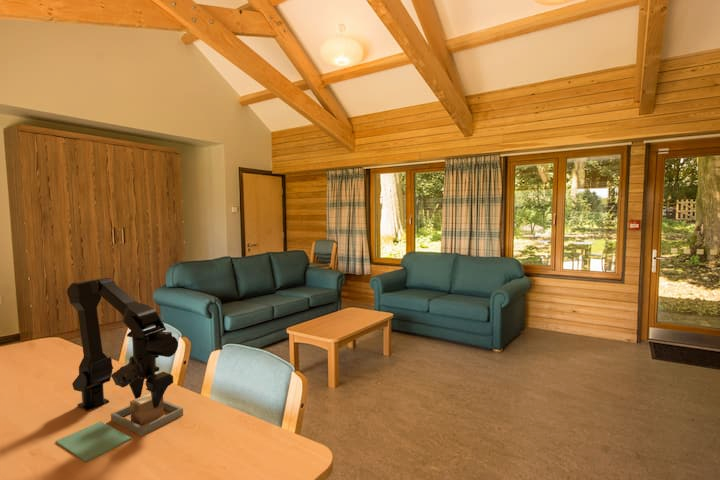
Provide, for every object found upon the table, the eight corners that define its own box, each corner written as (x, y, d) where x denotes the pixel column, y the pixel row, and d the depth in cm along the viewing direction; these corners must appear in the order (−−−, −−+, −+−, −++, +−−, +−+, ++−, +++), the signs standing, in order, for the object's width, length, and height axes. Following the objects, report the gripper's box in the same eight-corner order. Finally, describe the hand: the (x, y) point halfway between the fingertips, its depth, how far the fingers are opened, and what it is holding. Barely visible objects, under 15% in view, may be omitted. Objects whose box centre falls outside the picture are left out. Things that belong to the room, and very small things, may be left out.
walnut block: (130, 421, 113) (129, 400, 112) (154, 410, 119) (153, 391, 118) (140, 425, 110) (139, 405, 110) (163, 414, 116) (163, 395, 116)
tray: (111, 420, 113) (110, 413, 113) (152, 401, 124) (152, 395, 124) (141, 435, 105) (141, 428, 105) (183, 414, 116) (183, 408, 116)
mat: (55, 442, 102) (55, 440, 102) (100, 422, 112) (100, 421, 112) (85, 462, 94) (85, 460, 94) (131, 439, 104) (131, 437, 104)
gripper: (97, 354, 111) (100, 407, 112) (134, 368, 101) (137, 425, 103) (136, 343, 120) (139, 391, 122) (173, 354, 111) (175, 406, 112)
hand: (146, 403), depth 114 cm, fingers open, 9 cm apart
